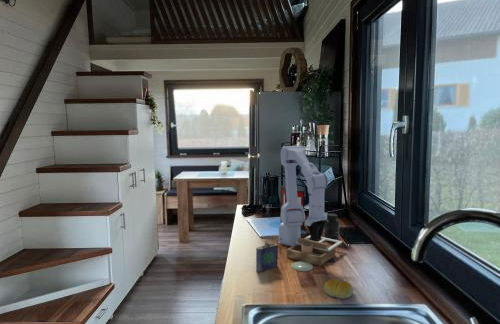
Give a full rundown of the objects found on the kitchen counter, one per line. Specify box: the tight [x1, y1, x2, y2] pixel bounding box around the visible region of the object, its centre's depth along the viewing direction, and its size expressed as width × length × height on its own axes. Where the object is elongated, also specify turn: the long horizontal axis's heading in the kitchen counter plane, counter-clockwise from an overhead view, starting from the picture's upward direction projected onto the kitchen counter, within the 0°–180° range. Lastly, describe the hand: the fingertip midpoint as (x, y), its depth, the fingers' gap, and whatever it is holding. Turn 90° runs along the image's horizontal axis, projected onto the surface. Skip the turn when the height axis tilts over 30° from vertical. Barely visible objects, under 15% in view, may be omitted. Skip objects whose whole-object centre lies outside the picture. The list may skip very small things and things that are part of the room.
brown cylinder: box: [301, 243, 313, 255], centre depth 144 cm, size 4×4×6 cm
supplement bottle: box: [323, 213, 341, 243], centre depth 167 cm, size 7×7×12 cm
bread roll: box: [323, 278, 354, 299], centre depth 116 cm, size 8×9×4 cm
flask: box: [255, 240, 279, 273], centre depth 134 cm, size 9×3×11 cm, turn 121°
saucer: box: [291, 261, 314, 272], centre depth 136 cm, size 8×8×1 cm
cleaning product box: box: [279, 184, 305, 231], centre depth 190 cm, size 16×9×20 cm, turn 6°
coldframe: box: [286, 244, 336, 267], centre depth 146 cm, size 15×13×4 cm
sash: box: [296, 234, 343, 252], centre depth 151 cm, size 15×13×3 cm
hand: (316, 239), depth 139 cm, fingers open, 2 cm apart
